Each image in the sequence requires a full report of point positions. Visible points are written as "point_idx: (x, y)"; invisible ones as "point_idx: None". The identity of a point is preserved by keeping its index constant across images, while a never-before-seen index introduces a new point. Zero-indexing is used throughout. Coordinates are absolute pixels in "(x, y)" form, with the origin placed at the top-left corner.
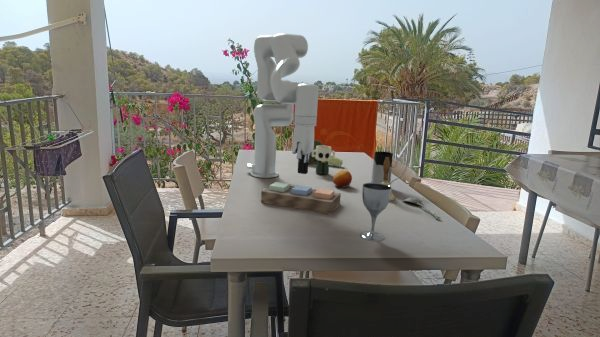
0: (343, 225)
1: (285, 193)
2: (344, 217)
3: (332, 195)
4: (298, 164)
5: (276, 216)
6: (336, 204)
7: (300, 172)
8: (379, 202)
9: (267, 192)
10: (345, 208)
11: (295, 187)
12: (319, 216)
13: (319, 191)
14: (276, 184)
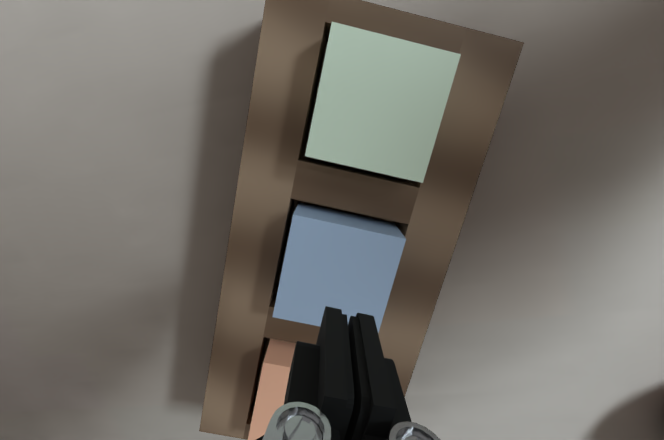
0: (102, 432)
1: (273, 171)
2: (197, 433)
3: None
4: (323, 372)
5: (77, 156)
6: None
7: (319, 336)
8: None
9: (261, 34)
10: None
11: (336, 236)
12: (167, 344)
13: None
14: (379, 76)
